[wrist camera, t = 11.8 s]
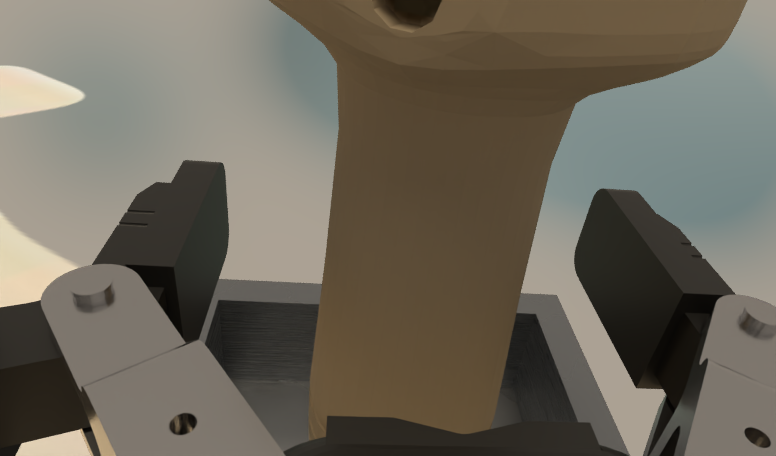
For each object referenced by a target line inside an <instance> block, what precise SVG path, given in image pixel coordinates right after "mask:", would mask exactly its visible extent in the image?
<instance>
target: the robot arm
mask: <svg viewBox="0 0 776 456" xmlns="http://www.w3.org/2000/svg"><path fill="white" fill-rule="evenodd" d="M119 223H120V224H119V225H117V227H116V228H115V230H114V231H113V233H112V235H111V236H110V238H109V239H108V241H107V242H106V244H105V245H104V247H103V248H102V250H101V252H100V253H99V255H98V256H97V258H96V259H95V261H94V262H93V264H92V265H90V266H85V267H81V268H78V269H75V270H72V271H70V272H68V273H65V274H63V275H62V276H60V277H58V278H57V279H55V280H54V281H53V282H52V283H51V284H50V285H49V286H48V287H47V288H46V289H45V291H44V292H43V294H42V297H41V300H40V301H36V302H31V303H26V304H20V305H14V306H7V307H1V308H0V456H15V455H16V453H17V451H18V449H19V447H20V445H21V443H24V442H29V441H33V440H37V439H41V438H45V437H50V436H54V435H58V434H62V433H66V432H71V431H75V430H79V429H80V431H81V434H82V436H83V438H84V441H85V443H86V445H87V448H88V450H89V452H90V455H91V456H629V455H627V454H625V453H622V452H620V451H617V450H614V449H612V448H609V447H606V446H602V445H599V443H598V440H597V438H596V436H595V433H594V431H593V428H592V426H591V423H589V422H550V421H525V422H520V423H516V424H511V425H507V426H502V427H498V428H493V429H489V430H484V431H480V432H475V433H470V434H460V433H455V432H451V431H447V430H443V429H439V428H435V427H431V426H426V425H422V424H418V423H414V422H410V421H406V420H402V419H398V418H394V417H356V416H327V425H326V437H323V438H318V439H314V440H310V441H307V442H304V443H301V444H299V445H296V446H294V447H292V448H290V449H287V450H285V451H282V450H281V449H280V447H279V446H278V444H277V443H276V442H275V440H274V439H273V438H272V436H271V435H270V433H269V432H268V431H267V429H266V428H265V426H264V425H263V424H262V422H261V421H260V420H259V418H258V417H257V415H256V414H255V413H254V411H253V410H252V409H251V407H250V406H249V404H248V403H247V402H246V400H245V399H244V397H243V396H242V395H241V393H240V392H239V391H238V389H237V388H236V386H235V385H234V384H233V382H232V381H231V380H230V378H229V377H228V375H227V374H226V373H225V371H224V370H223V368H222V367H221V366H220V364H219V363H218V362H217V360H216V359H215V357H214V356H213V355H212V353H211V352H210V350H209V349H208V348H207V347H206V345H205V344H204V343H203V342H202V341H200V340H199V337H200V334H201V331H202V328H203V325H204V322H205V319H206V316H207V313H208V310H209V307H210V304H211V301H212V298H213V294H214V291H215V288H216V285H217V282H218V279H219V276H220V273H221V270H222V267H223V264H224V261H225V258H226V254H227V248H228V238H229V223H228V208H227V194H226V178H225V169H224V165H223V163H220V162H205V161H189V160H185V161H183V163H182V165H181V166H180V168H179V170H178V172H177V174H176V175H175V177H174V179H173V181H172V182H171V183H160V182H156V183H154V184H153V185H151V186H150V187H148V188H147V189H145V190H144V191H142V192H140V193H139V194H137V196H136V197H135V199H134V200H133V202H132V203H131V205H130V207H129V208H128V212H127V213H125V214H124V216H123V217H122V219H121V221H120V222H119ZM574 264H575V270H576V274H577V276H578V278H579V280H580V282H581V284H582V286H583V288H584V289H585V291H586V293H587V295H588V297H589V299H590V301H591V303H592V305H593V307H594V309H595V310H596V312H597V314H598V316H599V318H600V320H601V322H602V324H603V326H604V328H605V329H606V331H607V333H608V335H609V337H610V339H611V341H612V343H613V345H614V347H615V349H616V351H617V352H618V354H619V356H620V358H621V360H622V362H623V364H624V366H625V368H626V370H627V371H628V373H629V375H630V377H631V379H632V381H633V383H634V385H635V387H636V388H646V389H663V390H664V392H665V393H666V395H665V397H664V399H663V401H662V403H661V404H660V406H659V409H658V412H657V415H656V418H655V421H654V424H653V427H652V430H651V433H650V436H649V439H648V442H647V445H646V448H645V451H644V454H643V456H776V307H775V306H773V305H771V304H769V303H767V302H764V301H762V300H759V299H756V298H752V297H749V296H743V295H736V294H735V293H734V292H733V291H732V290H731V288H730V287H729V286H728V285H727V284H726V283H725V282H724V280H723V279H722V278H721V277H720V276H719V275H718V273H717V272H716V271H715V270H714V269H713V268H712V266H711V265H710V264H709V263H708V262H707V261H706V259H702V255H701V254H700V253H699V251H698V250H697V249H696V248H695V247H694V246H691V242H690V241H689V240H688V239H687V238H686V236H685V235H684V234H683V233H682V232H681V230H680V229H678V228H677V227H676V226H675V225H673V224H672V223H670V222H668V221H667V220H666V219H664V218H663V217H661V216H660V215H658V214H656V213H655V212H654V210H653V209H652V208H651V207H650V206H649V204H648V203H647V202H646V201H645V200H644V198H643V197H642V196H641V195H640V194H639V193H638V192H637V191H632V190H616V189H600V190H598V191H597V192H596V194H595V195H594V197H593V200H592V202H591V205H590V208H589V211H588V214H587V217H586V220H585V223H584V226H583V229H582V232H581V234H580V237H579V240H578V243H577V246H576V250H575V258H574Z"/></svg>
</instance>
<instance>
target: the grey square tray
mask: <svg viewBox="0 0 776 456" xmlns="http://www.w3.org/2000/svg"><path fill="white" fill-rule="evenodd" d="M321 288H322V284H311V283H290V282H269V281H249V280H248V281H247V280H228V279H218V282H217V285H216V288H215V291H214V294H213V298H212V301H211V304H210V307H209V310H208V313H207V316H206V319H205V322H204V325H203V328H202V331H201V334H200V337H199V340H200V341H202V342H203V343H204V344H205V345H206V347H207V348H208V349H209V350H210V352H211V353H212V355H213V356H214V357H215V359H216V360H217V362H218V363H219V364H220V366H221V367H222V368H223V370H224V371H225V373H226V374H227V375H228V377H229V378H230V380H231V381H232V382H233V384H234V385H235V386H236V388H237V389H238V391H239V392H240V393H241V395H242V396H243V397H244V399H245V400H246V402H247V403H248V404H249V406H250V407H251V409H252V410H253V411H254V413H255V414H256V415H257V417H258V418H259V420H260V421H261V422H262V424H263V425H264V426H265V428H266V429H267V431H268V432H269V433H270V435H271V436H272V438H273V439H274V440H275V442H276V443H277V444H278V446H279V447H280V449H281V450H282V451H285V450H287V449H290V448H292V447H294V446H296V445H299V444H301V443H304V442H307V441H309V420H308V418H309V388H310V374H311V366H312V359H313V351H314V343H315V335H316V327H317V320H318V312H319V304H320V296H321ZM525 421H550V422H589V423H591V426H592V428H593V431H594V433H595V436H596V438H597V440H598V443H599V445H602V446H606V447H609V448H612V449H614V450H617V451H620V452H622V453H625V454H627V455H629V453H628V451H627V448H626V446H625V444H624V442H623V440H622V437H621V435H620V433H619V431H618V429H617V426H616V424H615V422H614V420H613V418H612V415H611V413H610V411H609V409H608V407H607V404H606V402H605V400H604V398H603V396H602V393H601V391H600V389H599V387H598V385H597V382H596V380H595V378H594V376H593V374H592V372H591V369H590V367H589V365H588V363H587V360H586V358H585V356H584V354H583V352H582V349H581V347H580V345H579V343H578V341H577V339H576V336H575V334H574V332H573V330H572V328H571V325H570V323H569V321H568V319H567V317H566V314H565V312H564V310H563V308H562V306H561V303H560V301H559V299H558V297H557V295H545V294H523V293H520V298H519V303H518V308H517V312H516V317H515V322H514V327H513V331H512V336H511V341H510V345H509V350H508V355H507V360H506V364H505V369H504V374H503V378H502V383H501V388H500V393H499V397H498V402H497V407H496V411H495V415H494V419H493V422H492V426H491V429H493V428H498V427H502V426H507V425H511V424H516V423H520V422H525ZM629 456H630V455H629Z"/></svg>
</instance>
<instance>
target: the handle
mask: <svg viewBox="0 0 776 456" xmlns="http://www.w3.org/2000/svg"><path fill="white" fill-rule="evenodd" d="M269 1H271V2H272V3H273V4H274V5H276V6H277V7H278V8H280V9H281V10H282V11H284V12H285V13H286V14H288V15H289V16H290V17H292V18H293V19H295V20H296V21H297V22H299V23H300V24H301V25H302V26H303V27H305V28H306V29H307V30H308V31H309V32H310V33H312V34H313V35H314V36H315V37H316V38H317V39H318V40H320V41H321V42H322V43H323V44H324V45H325V46H326V48H327V49H328V51H329V52H330V53H331V55H332V57H333V58H334V60H335V61H336V63H337V82H338V115H339V132H338V142H337V151H336V161H335V170H334V181H333V190H332V200H331V209H330V219H329V228H328V239H327V248H326V258H325V266H324V273H323V281H322V288H321V296H320V304H319V312H318V320H317V327H316V335H315V343H314V351H313V359H312V366H311V374H310V388H309V418H308V420H309V441H310V440H314V439H318V438H323V437H326V425H327V416H356V417H394V418H398V419H402V420H406V421H410V422H414V423H418V424H422V425H426V426H431V427H435V428H439V429H443V430H447V431H451V432H455V433H460V434H470V433H475V432H480V431H484V430H489V429H491V426H492V422H493V419H494V415H495V411H496V407H497V402H498V397H499V393H500V388H501V383H502V378H503V374H504V369H505V364H506V360H507V355H508V350H509V345H510V341H511V336H512V331H513V327H514V322H515V317H516V312H517V308H518V303H519V298H520V293H521V289H522V284H523V280H524V276H525V272H526V267H527V263H528V259H529V254H530V251H531V247H532V242H533V238H534V234H535V230H536V226H537V222H538V217H539V213H540V209H541V205H542V201H543V197H544V192H545V188H546V184H547V180H548V175H549V171H550V168H551V164H552V161H553V159H554V156H555V154H556V151H557V149H558V146H559V144H560V141H561V139H562V136H563V134H564V131H565V129H566V126H567V124H568V121H569V119H570V116H571V114H572V111H573V109H574V106H575V104H576V103H577V102H579V101H580V100H582V99H583V98H585V97H587V96H589V95H591V94H595V93H599V92H602V91H606V90H609V89H613V88H617V87H621V86H626V85H631V84H635V83H640V82H644V81H648V80H652V79H656V78H659V77H663V76H666V75H669V74H671V73H674V72H677V71H680V70H682V69H685V68H688V67H690V66H692V65H694V64H696V63H698V62H700V61H702V60H704V59H706V58H708V57H710V56H712V55H714V54H715V53H716V52H717V51H718V50H720V49H721V48H722V46H723V45H724V44H725V42H726V41H727V40H728V38H729V36H730V35H731V33H732V31H733V29H734V27H735V25H736V24H737V22H738V19H739V18H740V15H741V13H742V11H743V9H744V6H745V4H746V2H747V0H269Z"/></svg>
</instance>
